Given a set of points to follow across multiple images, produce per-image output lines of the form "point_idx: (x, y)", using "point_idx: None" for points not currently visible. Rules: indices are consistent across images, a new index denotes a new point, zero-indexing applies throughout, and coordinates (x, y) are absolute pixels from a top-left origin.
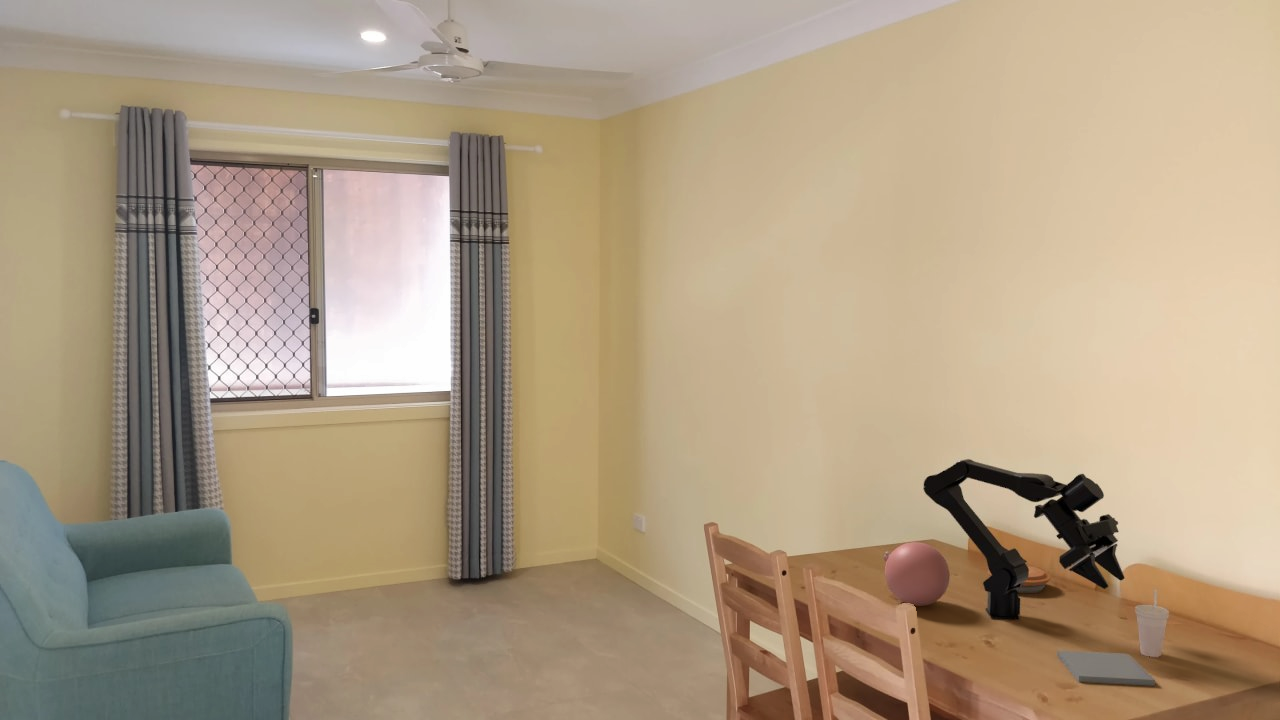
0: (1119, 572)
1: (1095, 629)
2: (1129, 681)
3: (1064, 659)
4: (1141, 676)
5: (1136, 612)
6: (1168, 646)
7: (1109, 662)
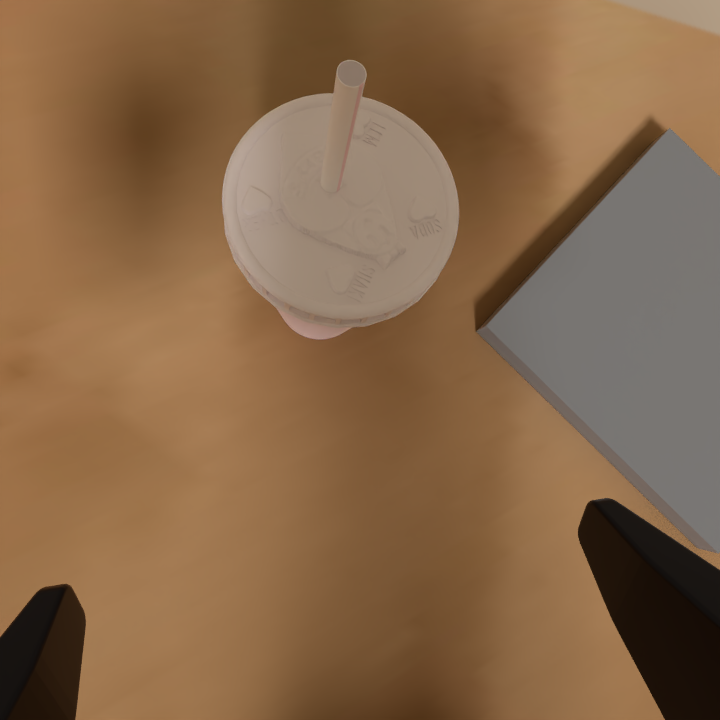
0: (39, 681)
1: (166, 673)
2: None
3: None
4: (681, 175)
5: (427, 288)
6: (131, 291)
7: (652, 325)
